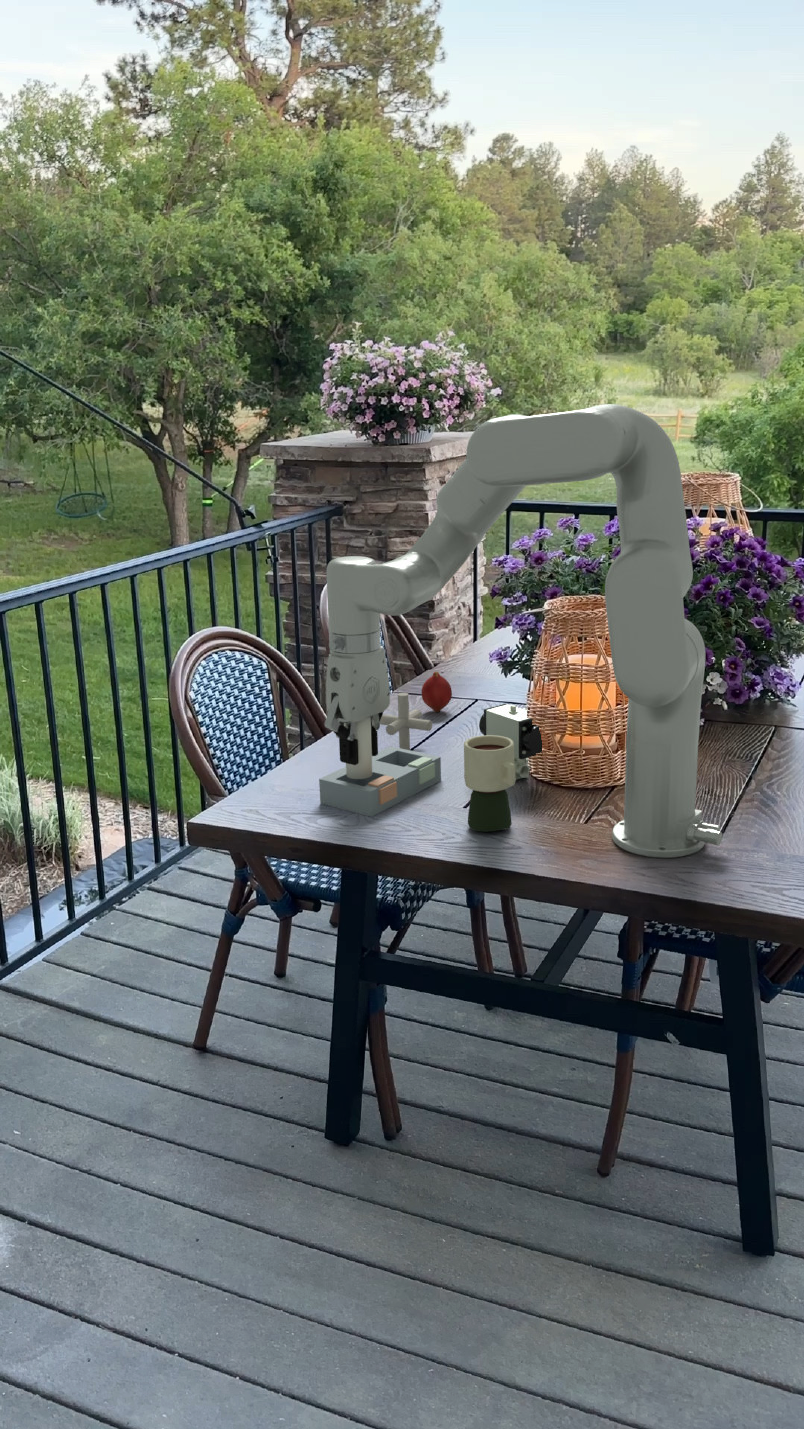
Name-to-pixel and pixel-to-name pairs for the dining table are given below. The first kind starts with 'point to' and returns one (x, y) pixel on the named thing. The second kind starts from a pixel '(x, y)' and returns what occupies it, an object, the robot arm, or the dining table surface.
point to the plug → (362, 751)
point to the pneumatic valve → (513, 733)
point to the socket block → (381, 782)
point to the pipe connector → (405, 721)
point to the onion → (436, 692)
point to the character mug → (489, 781)
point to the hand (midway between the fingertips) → (359, 757)
